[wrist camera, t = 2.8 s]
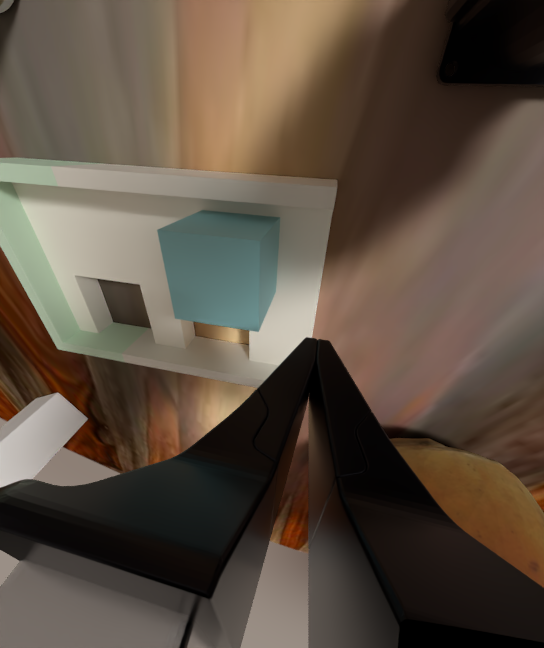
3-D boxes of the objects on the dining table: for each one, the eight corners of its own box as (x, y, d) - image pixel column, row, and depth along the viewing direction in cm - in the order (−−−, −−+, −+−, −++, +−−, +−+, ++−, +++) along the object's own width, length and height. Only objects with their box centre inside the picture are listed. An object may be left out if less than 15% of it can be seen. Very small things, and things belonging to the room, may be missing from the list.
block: (280, 217, 15) (260, 241, 11) (275, 291, 18) (258, 331, 14) (202, 210, 16) (157, 229, 12) (209, 282, 19) (175, 318, 15)
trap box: (337, 179, 15) (337, 187, 12) (307, 363, 24) (302, 396, 21) (18, 157, 19) (-48, 159, 16) (91, 325, 27) (58, 349, 24)
